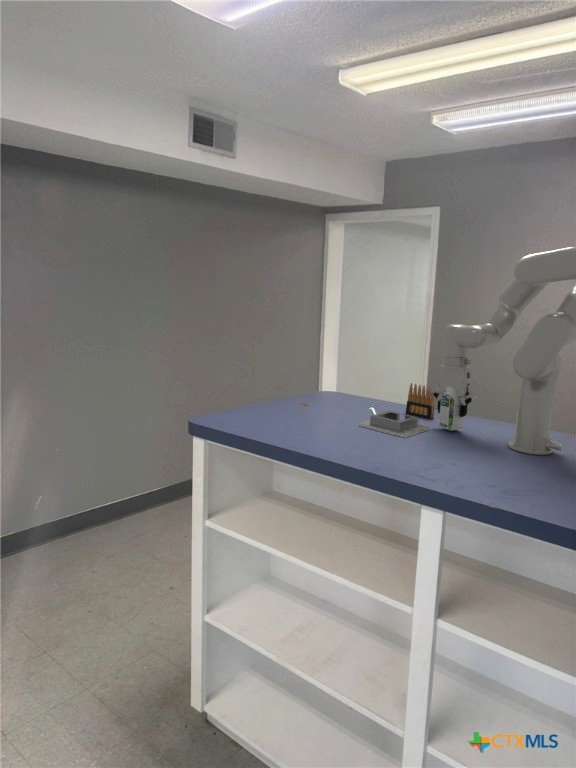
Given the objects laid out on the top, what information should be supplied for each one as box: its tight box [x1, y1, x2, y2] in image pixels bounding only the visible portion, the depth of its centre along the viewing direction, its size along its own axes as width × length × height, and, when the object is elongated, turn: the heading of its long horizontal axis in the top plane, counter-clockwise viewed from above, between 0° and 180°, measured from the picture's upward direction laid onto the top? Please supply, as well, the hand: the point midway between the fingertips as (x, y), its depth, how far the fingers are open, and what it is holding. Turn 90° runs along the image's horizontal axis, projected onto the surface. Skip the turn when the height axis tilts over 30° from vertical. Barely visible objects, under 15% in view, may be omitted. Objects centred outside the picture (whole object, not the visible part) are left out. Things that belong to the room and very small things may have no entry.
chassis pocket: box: [358, 410, 430, 439], centre depth 179 cm, size 18×15×4 cm
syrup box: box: [438, 387, 464, 432], centre depth 178 cm, size 6×6×14 cm
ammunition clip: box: [405, 382, 435, 420], centre depth 196 cm, size 11×2×12 cm, turn 46°
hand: (451, 414), depth 178 cm, fingers closed on syrup box, 7 cm apart
